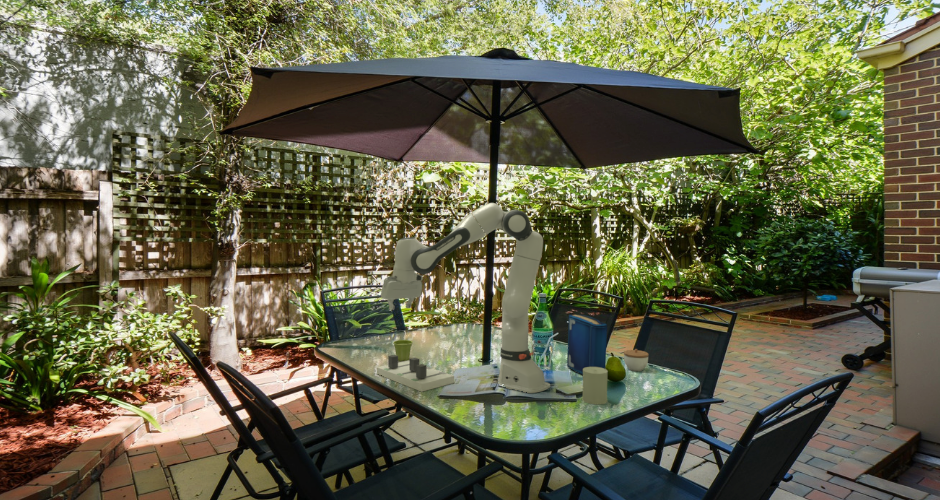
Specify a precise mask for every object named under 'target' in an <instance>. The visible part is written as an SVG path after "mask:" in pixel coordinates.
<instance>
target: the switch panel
mask: <svg viewBox="0 0 940 500" xmlns="http://www.w3.org/2000/svg"><path fill="white" fill-rule="evenodd" d="M409 363H410V360H407V361H398V368H393V369H392V368H389V367H388V364H387V365H386V364H385V365H382V366H377V367H376V374H377V375H378V374H379V375H378V376H381V375H382V376H381V377H383V376H384V377H383V378H386V379H388V380H390V381H391V380H392V381H394V382H396V383H399V384H401V385H404V386H406V387H408V388H411V389H413V390H416V391H419V392H421V393H422V392H425V391H429V390H432V389H438V388H441V387H444V386H448V385H452V384H455V375H453V374H450V373H447V372H444V371H441V370H438V369H435V368H432V367H428V366H427V378H423V379H419V378H416V371H415V372H413V371H410V370H409ZM420 364H421V363H419V365H420Z"/></svg>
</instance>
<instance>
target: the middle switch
mask: <svg viewBox="0 0 940 500" xmlns="http://www.w3.org/2000/svg"><path fill="white" fill-rule="evenodd" d="M409 361H410V363H409V370H410V371H413V372H415V371H416V365H419V364H420V358H419V357H411V358H409Z"/></svg>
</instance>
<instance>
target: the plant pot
mask: <svg viewBox="0 0 940 500" xmlns="http://www.w3.org/2000/svg"><path fill="white" fill-rule="evenodd" d="M392 344H393V345H394V348H395V355H396V356H398V362H404V361H410V356H411V355H410V354H411V349H412V344H413V341H412V340H410V339H399V340H395V341H393V342H392Z"/></svg>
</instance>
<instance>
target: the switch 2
mask: <svg viewBox="0 0 940 500" xmlns="http://www.w3.org/2000/svg"><path fill="white" fill-rule="evenodd" d="M419 364H420V365H416V378H419V379H423V378H427V367H428V366H427V364H423V363H419Z"/></svg>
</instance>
